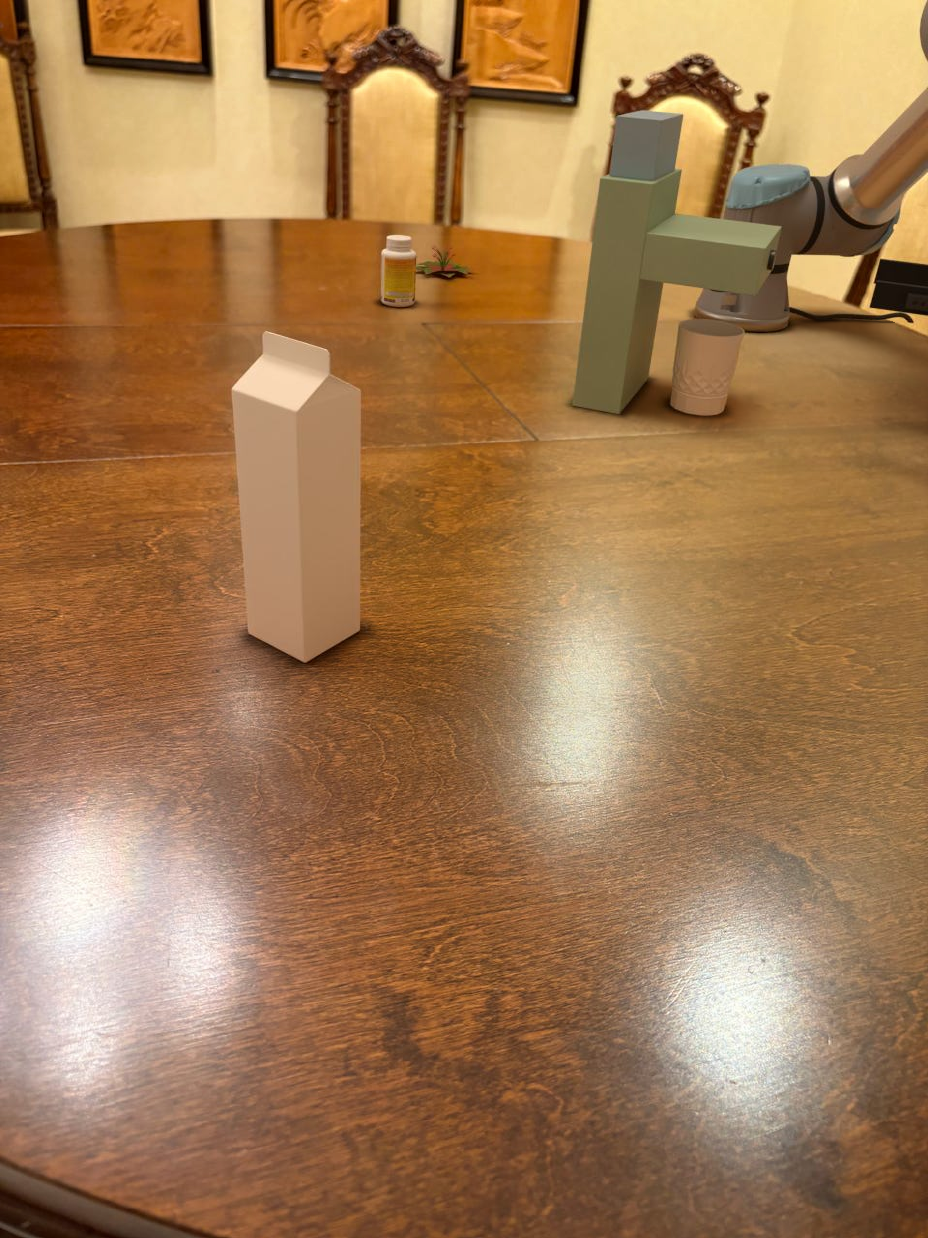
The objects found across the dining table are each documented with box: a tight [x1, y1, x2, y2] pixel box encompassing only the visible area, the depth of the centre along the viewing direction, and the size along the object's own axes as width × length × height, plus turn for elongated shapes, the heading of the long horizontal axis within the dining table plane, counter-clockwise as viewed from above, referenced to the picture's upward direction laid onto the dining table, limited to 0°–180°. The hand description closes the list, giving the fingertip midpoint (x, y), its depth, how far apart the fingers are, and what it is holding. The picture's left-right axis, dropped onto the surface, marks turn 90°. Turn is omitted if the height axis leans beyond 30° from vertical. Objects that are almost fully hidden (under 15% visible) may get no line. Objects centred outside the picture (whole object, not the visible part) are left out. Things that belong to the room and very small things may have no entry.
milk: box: [231, 331, 362, 663], centre depth 67 cm, size 6×6×22 cm
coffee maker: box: [572, 109, 782, 415], centre depth 115 cm, size 20×16×32 cm
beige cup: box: [669, 318, 746, 417], centre depth 120 cm, size 8×8×10 cm
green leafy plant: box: [416, 245, 476, 278], centre depth 177 cm, size 12×12×5 cm
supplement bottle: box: [380, 234, 417, 308], centre depth 155 cm, size 6×6×10 cm
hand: (874, 281), depth 108 cm, fingers open, 13 cm apart
